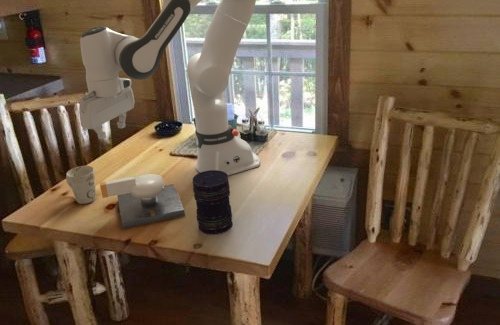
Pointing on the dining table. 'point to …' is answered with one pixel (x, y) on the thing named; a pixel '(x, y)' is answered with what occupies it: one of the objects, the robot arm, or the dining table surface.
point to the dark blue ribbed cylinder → (212, 202)
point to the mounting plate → (150, 207)
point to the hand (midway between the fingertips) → (112, 132)
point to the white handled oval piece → (134, 186)
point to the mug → (82, 183)
